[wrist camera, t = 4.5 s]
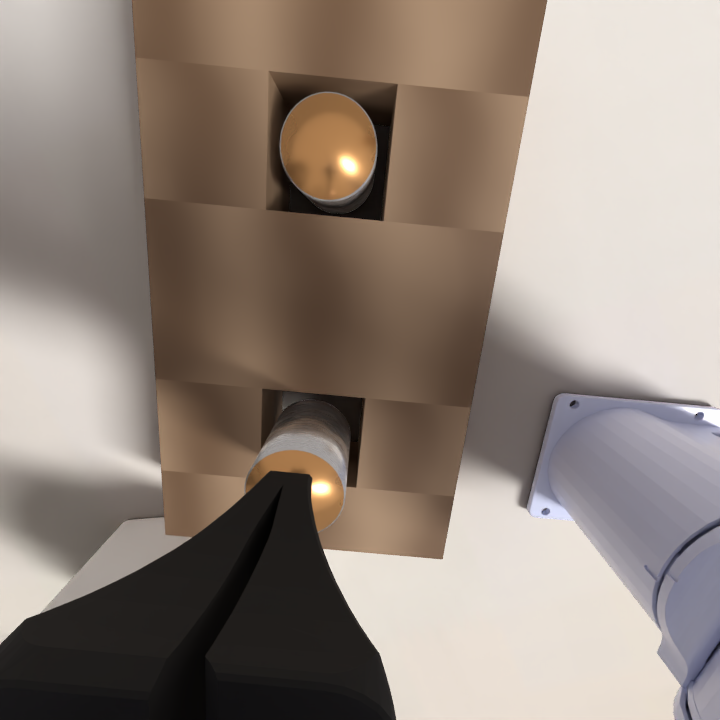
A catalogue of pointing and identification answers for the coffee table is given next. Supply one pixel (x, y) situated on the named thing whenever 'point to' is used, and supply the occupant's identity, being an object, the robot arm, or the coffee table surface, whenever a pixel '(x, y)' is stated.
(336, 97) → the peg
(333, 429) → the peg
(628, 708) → the coffee table surface
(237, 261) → the socket block
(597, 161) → the coffee table surface
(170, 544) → the medicine bottle
